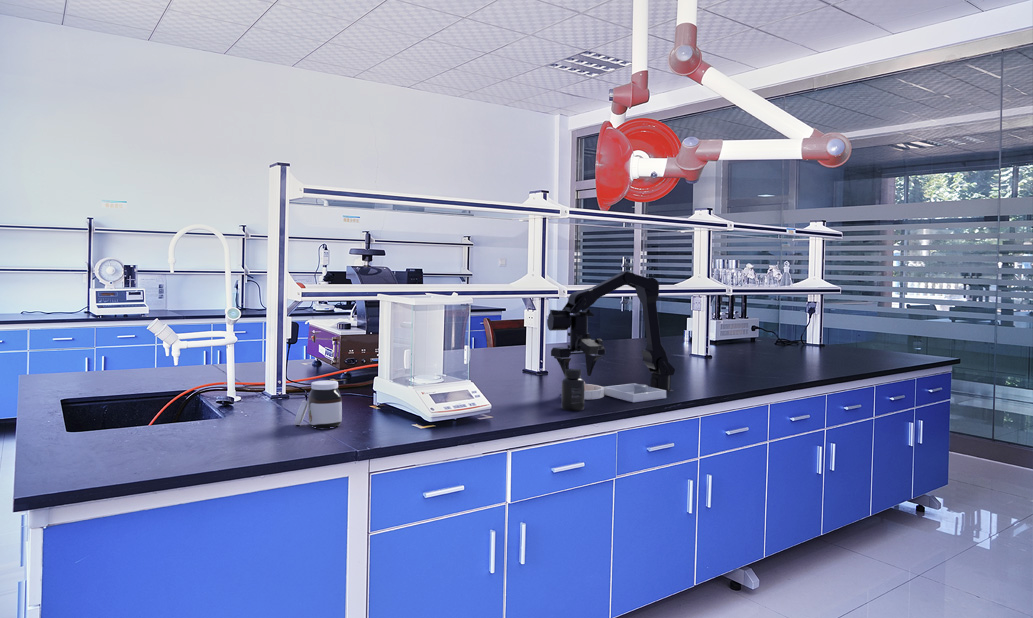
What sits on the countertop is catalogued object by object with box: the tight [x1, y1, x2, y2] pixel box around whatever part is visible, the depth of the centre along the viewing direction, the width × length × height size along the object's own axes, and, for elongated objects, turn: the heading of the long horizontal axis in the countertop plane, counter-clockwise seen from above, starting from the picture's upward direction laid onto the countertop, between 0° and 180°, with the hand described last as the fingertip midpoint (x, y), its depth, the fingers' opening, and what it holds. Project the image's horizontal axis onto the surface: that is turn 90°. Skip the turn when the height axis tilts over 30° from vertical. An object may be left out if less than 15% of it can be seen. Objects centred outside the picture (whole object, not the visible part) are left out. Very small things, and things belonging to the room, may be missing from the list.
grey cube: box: [634, 383, 649, 394], centre depth 215 cm, size 4×4×4 cm
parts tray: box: [602, 383, 667, 403], centre depth 218 cm, size 14×15×3 cm
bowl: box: [584, 383, 605, 400], centre depth 218 cm, size 13×13×3 cm
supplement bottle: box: [561, 368, 585, 412], centre depth 199 cm, size 7×7×12 cm
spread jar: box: [293, 379, 343, 428], centre depth 174 cm, size 12×11×12 cm
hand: (578, 377), depth 220 cm, fingers open, 9 cm apart
